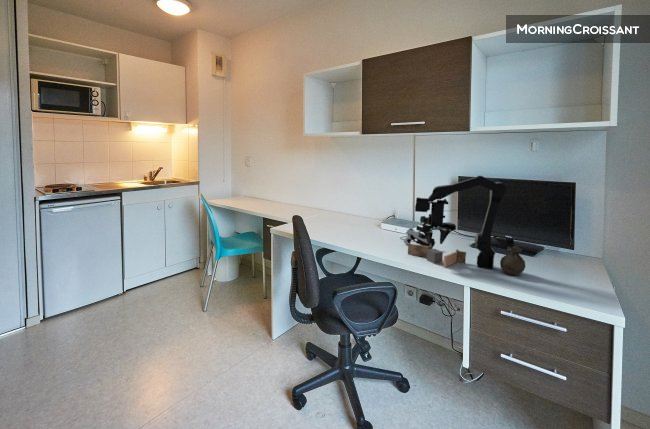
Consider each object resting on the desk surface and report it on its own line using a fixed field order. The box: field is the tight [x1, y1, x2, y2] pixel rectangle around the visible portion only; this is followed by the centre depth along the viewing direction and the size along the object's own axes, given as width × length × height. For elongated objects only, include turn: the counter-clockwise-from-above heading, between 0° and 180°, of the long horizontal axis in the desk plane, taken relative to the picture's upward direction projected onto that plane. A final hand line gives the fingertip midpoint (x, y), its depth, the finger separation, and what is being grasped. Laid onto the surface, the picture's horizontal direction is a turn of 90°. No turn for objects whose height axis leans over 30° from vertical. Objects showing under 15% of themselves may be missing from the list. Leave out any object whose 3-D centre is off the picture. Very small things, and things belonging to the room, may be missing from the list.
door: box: [443, 251, 458, 268], centre depth 162 cm, size 11×1×5 cm, turn 134°
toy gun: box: [403, 228, 436, 249], centre depth 192 cm, size 2×17×10 cm, turn 51°
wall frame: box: [407, 243, 467, 264], centre depth 172 cm, size 28×2×6 cm, turn 59°
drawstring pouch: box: [499, 245, 526, 276], centre depth 150 cm, size 10×10×12 cm
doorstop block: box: [426, 248, 444, 265], centre depth 167 cm, size 6×4×6 cm
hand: (435, 244), depth 166 cm, fingers open, 6 cm apart
